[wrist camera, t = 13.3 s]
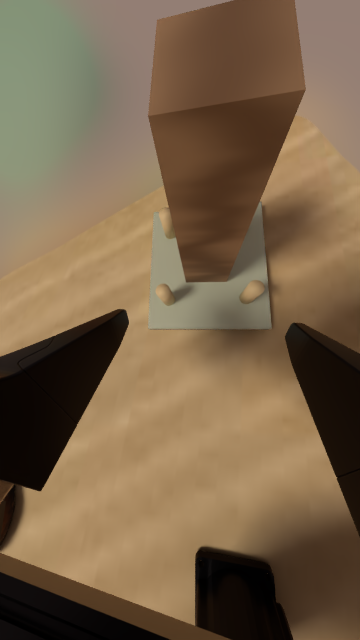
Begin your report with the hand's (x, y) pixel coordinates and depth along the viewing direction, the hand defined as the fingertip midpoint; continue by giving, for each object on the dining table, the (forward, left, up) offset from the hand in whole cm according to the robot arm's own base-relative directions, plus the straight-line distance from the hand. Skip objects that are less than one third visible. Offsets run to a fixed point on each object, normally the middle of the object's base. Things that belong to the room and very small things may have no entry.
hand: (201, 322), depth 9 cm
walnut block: (+1, +8, -8) cm, 11 cm away
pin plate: (+1, +8, -9) cm, 12 cm away
